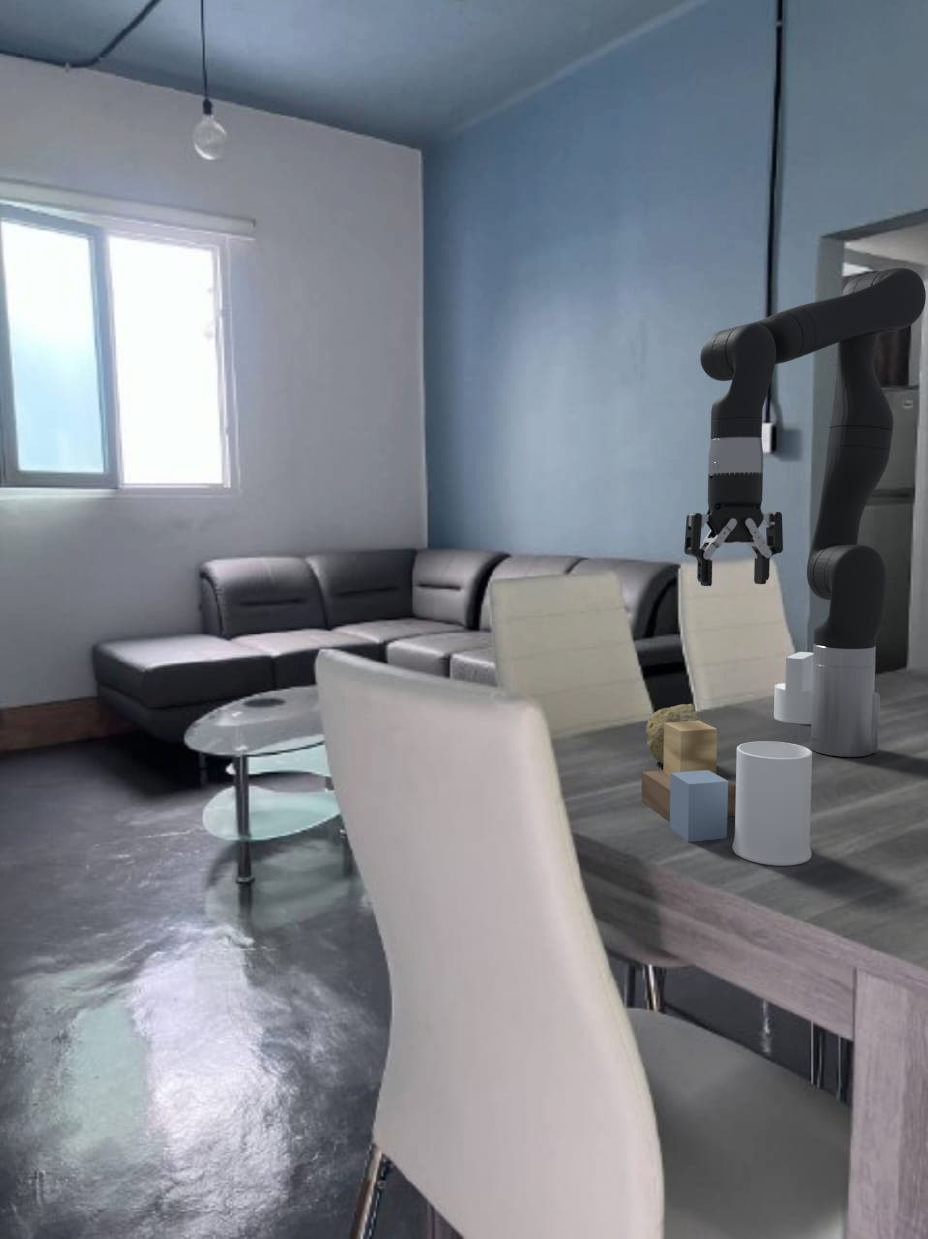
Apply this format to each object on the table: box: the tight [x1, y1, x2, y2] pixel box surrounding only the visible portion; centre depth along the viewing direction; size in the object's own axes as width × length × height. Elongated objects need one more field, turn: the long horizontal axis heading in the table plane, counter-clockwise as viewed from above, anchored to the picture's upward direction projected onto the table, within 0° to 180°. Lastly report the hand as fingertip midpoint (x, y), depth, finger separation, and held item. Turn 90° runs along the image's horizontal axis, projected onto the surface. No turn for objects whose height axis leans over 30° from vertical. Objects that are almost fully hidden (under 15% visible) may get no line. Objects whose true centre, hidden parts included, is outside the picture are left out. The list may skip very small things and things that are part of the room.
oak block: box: [662, 720, 718, 778], centre depth 121 cm, size 5×5×7 cm
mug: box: [731, 740, 813, 867], centre depth 106 cm, size 12×8×12 cm
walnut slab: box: [641, 769, 736, 822], centre depth 121 cm, size 9×9×4 cm
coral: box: [645, 703, 703, 765], centre depth 143 cm, size 10×10×10 cm
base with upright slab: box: [773, 651, 813, 725], centre depth 173 cm, size 9×9×12 cm
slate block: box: [669, 770, 729, 843], centre depth 112 cm, size 5×5×7 cm
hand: (733, 584), depth 134 cm, fingers open, 8 cm apart
